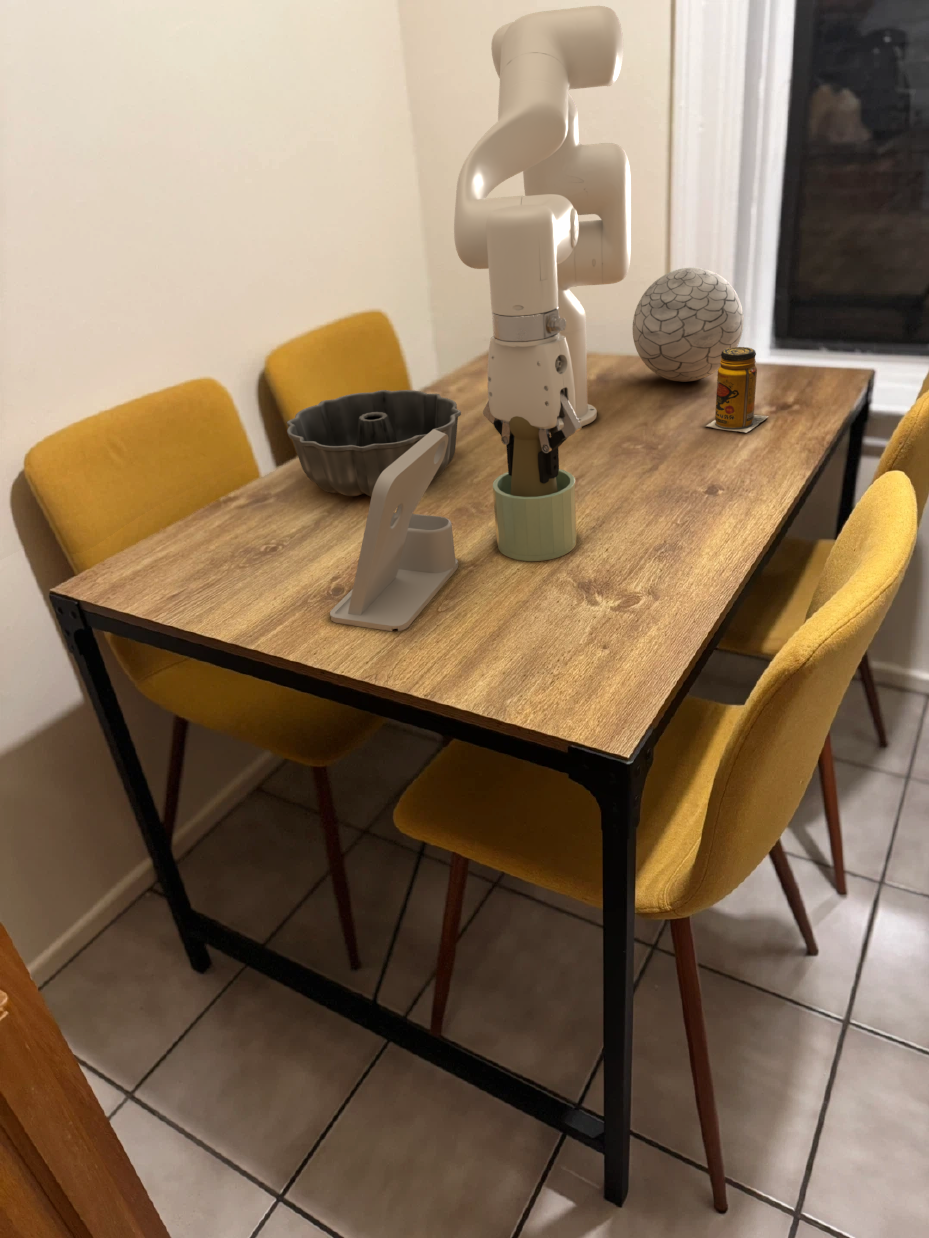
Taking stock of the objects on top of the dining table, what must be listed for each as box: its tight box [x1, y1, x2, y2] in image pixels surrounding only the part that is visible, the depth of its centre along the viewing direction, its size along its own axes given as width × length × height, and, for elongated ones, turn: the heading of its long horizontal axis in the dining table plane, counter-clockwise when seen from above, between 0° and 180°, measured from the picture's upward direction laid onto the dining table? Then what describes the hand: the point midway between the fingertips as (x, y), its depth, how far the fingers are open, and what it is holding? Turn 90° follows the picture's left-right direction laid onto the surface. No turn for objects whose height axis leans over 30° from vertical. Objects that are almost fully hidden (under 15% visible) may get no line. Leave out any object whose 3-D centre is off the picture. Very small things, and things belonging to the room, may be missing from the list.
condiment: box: [705, 346, 770, 433], centre depth 143 cm, size 7×8×12 cm
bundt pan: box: [286, 389, 462, 498], centre depth 137 cm, size 26×26×10 cm
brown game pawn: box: [509, 416, 558, 497], centre depth 109 cm, size 6×6×11 cm
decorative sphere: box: [631, 267, 744, 383], centre depth 164 cm, size 20×20×20 cm
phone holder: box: [329, 429, 459, 632], centre depth 103 cm, size 17×10×18 cm, turn 157°
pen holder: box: [492, 468, 577, 562], centre depth 113 cm, size 10×10×8 cm
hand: (533, 474), depth 110 cm, fingers closed on brown game pawn, 4 cm apart
